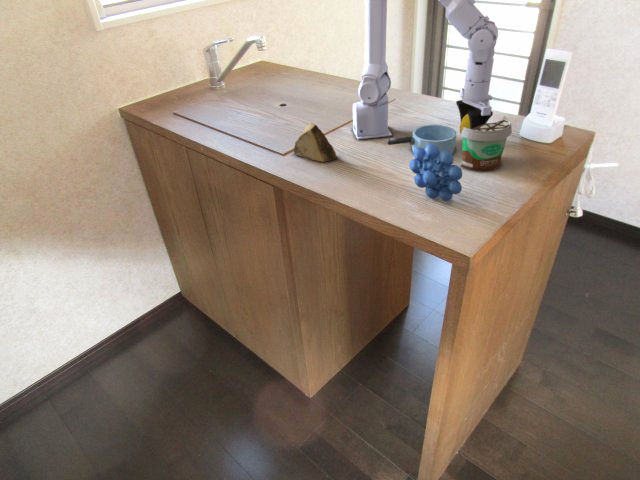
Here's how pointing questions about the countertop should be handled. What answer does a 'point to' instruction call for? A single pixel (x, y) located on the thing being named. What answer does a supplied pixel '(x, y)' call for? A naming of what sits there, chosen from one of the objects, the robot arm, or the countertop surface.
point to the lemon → (465, 123)
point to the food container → (484, 145)
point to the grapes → (436, 172)
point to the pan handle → (401, 140)
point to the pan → (435, 137)
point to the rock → (314, 145)
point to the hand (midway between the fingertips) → (470, 133)
